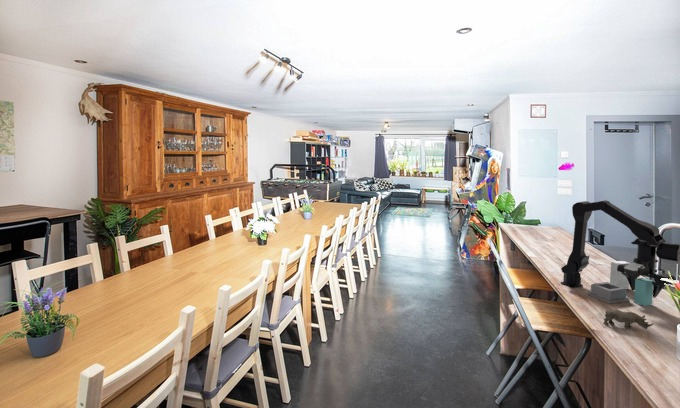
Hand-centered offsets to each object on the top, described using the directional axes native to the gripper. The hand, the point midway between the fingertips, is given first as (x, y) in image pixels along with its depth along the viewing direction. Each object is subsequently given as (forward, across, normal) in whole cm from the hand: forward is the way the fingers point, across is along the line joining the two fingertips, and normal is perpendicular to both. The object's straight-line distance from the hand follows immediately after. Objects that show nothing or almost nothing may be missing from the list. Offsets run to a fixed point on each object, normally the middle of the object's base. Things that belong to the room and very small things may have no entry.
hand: (643, 293), depth 146 cm
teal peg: (+4, 0, 0) cm, 4 cm away
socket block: (+4, -9, -7) cm, 12 cm away
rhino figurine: (+4, +14, -26) cm, 29 cm away
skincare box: (+4, -16, +8) cm, 18 cm away
